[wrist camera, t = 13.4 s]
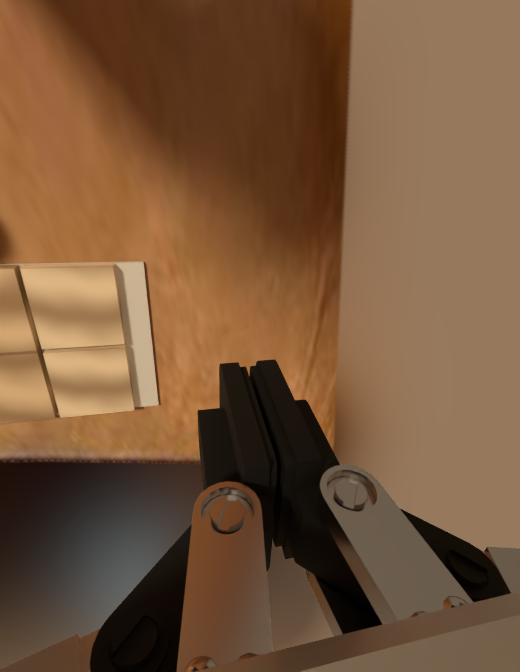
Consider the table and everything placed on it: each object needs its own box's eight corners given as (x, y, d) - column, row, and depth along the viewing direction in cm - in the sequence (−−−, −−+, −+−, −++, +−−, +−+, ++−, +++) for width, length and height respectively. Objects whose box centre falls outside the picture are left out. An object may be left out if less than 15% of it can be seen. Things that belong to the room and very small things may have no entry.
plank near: (24, 264, 35) (19, 268, 34) (114, 262, 36) (113, 266, 35) (45, 343, 39) (41, 349, 38) (125, 338, 40) (124, 344, 39)
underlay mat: (-90, 265, 33) (-93, 267, 33) (143, 261, 37) (143, 262, 37) (-26, 420, 42) (-27, 423, 41) (158, 403, 46) (158, 405, 46)
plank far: (46, 347, 39) (43, 353, 38) (126, 342, 41) (125, 348, 40) (63, 410, 43) (60, 417, 42) (135, 404, 45) (134, 410, 44)
